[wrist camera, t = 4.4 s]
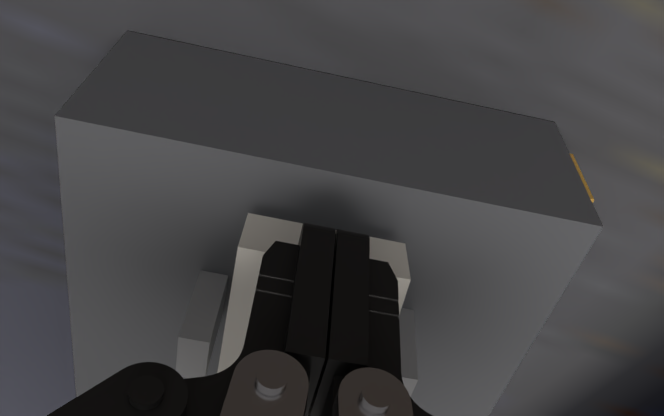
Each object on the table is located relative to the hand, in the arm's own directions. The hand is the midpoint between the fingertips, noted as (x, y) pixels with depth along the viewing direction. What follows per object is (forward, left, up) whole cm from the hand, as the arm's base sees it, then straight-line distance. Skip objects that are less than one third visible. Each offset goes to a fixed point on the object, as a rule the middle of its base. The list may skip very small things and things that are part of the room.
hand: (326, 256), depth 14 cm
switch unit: (+14, 0, -8) cm, 16 cm away
